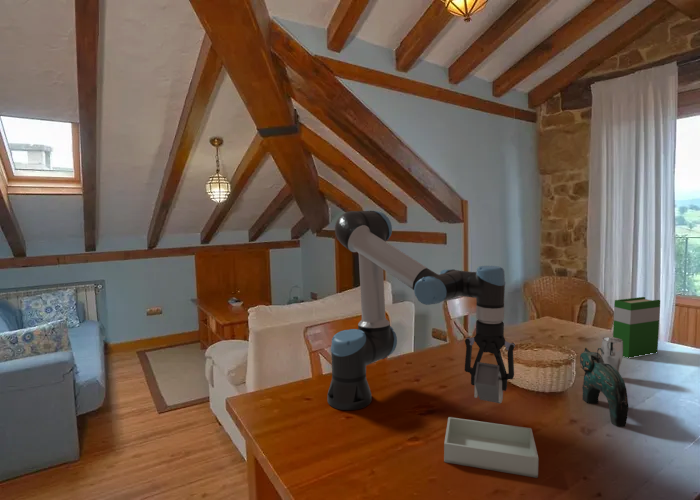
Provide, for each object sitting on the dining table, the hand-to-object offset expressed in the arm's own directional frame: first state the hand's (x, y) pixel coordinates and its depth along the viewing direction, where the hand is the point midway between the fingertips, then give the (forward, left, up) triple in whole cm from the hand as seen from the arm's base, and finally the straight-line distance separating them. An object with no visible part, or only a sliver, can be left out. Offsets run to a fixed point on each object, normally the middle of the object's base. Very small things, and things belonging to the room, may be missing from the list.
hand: (488, 398), depth 117 cm
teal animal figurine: (+35, +22, -10) cm, 43 cm away
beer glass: (+45, +52, -10) cm, 70 cm away
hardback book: (+63, +85, -10) cm, 106 cm away
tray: (0, -12, -10) cm, 16 cm away
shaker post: (+1, +5, 0) cm, 5 cm away
